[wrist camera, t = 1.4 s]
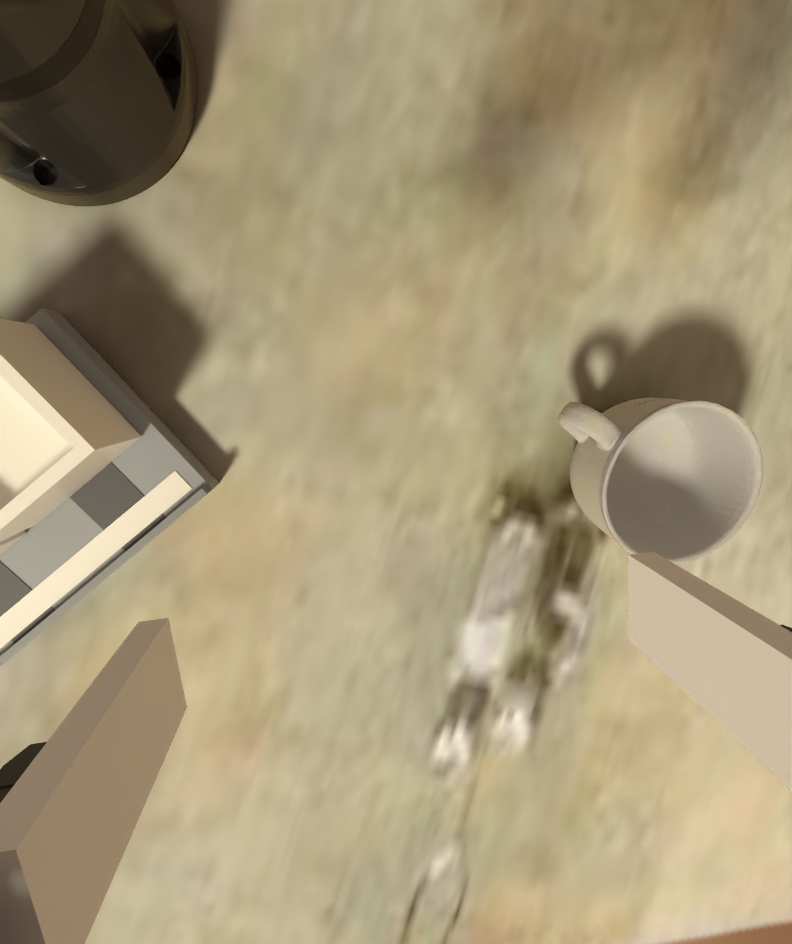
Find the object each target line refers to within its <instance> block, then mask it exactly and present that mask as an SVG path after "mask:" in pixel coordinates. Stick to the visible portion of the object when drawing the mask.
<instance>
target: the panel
mask: <svg viewBox="0 0 792 944" xmlns="http://www.w3.org/2000/svg"><path fill="white" fill-rule="evenodd" d="M24 323H28V324H34V325H36V326H37V328H38V329H39V330H40V331H41V332H42V333H43V334H44V335H45V336H46V337H47V338H48V339H49V340H50V341H51V342H52V343H53V344H54V345H55V346H56V347H57V348H58V349H59V350H60V352H61V353H62V354H63V355H64V356H65V357H66V358H67V359H68V360H69V361H70V362H71V363H72V364H73V365H74V366H75V367H76V368H77V369H78V370H79V371H80V372H81V373H82V374H83V376H84V377H85V378H86V379H87V380H88V381H89V382H90V383H91V384H92V385H93V386H94V387H95V388H96V389H97V390H98V391H99V392H100V393H101V394H102V395H103V396H104V397H105V398H106V400H107V401H108V402H109V403H110V404H111V405H112V406H113V407H114V408H115V409H116V410H117V411H118V412H119V413H120V414H121V415H122V416H123V417H124V418H125V419H126V420H127V421H128V423H129V424H130V425H131V426H132V427H133V428H134V429H135V430H136V431H137V432H138V433H139V434H140V435H141V436H142V437H141V438H139V439H138V440H137V441H136V442H135V443H133V444H132V445H131V446H130V447H129V448H128V449H126V450H125V451H124V452H123V453H122V454H120V455H119V456H118V457H117V458H116V459H114V460H113V461H112V462H111V463H110V464H108V465H107V466H106V467H105V468H104V469H103V470H101V471H100V472H99V473H98V474H97V475H95V476H94V477H93V478H92V479H91V480H89V481H88V482H87V483H86V484H85V485H84V486H82V487H81V488H80V489H79V490H78V491H76V492H75V493H74V494H73V495H72V496H70V497H69V498H68V499H67V500H66V501H64V502H63V503H62V504H61V505H60V506H59V507H57V508H56V509H55V510H54V511H53V512H51V513H50V514H49V515H48V516H47V517H45V518H44V519H43V520H42V521H41V522H40V523H38V524H36V525H34V526H32V527H30V528H28V529H26V530H24V531H25V532H26V534H25V535H24V536H23V537H22V538H21V539H19V540H18V541H17V542H16V543H15V544H13V545H12V546H11V547H10V548H9V549H7V550H6V551H5V552H4V553H3V554H1V555H0V666H1V665H2V664H4V663H5V662H6V661H7V660H8V659H10V658H11V657H12V656H13V655H14V654H16V653H17V652H18V651H19V650H20V649H22V648H23V647H24V646H25V645H26V644H28V643H29V642H30V641H31V640H32V639H34V638H35V637H36V636H37V635H38V634H40V633H41V632H42V631H43V630H44V629H46V628H47V627H48V626H49V625H50V624H52V623H53V622H54V621H55V620H56V619H58V618H59V617H60V616H61V615H62V614H64V613H65V612H66V611H67V610H68V609H70V608H71V607H72V606H73V605H74V604H76V603H77V602H78V601H79V600H80V599H82V598H83V597H84V596H85V595H86V594H88V593H89V592H90V591H91V590H92V589H94V588H95V587H96V586H97V585H98V584H100V583H101V582H102V581H103V580H104V579H106V578H107V577H108V576H109V575H110V574H112V573H113V572H114V571H115V570H116V569H118V568H119V567H120V566H121V565H122V564H124V563H125V562H126V561H127V560H128V559H130V558H131V557H132V556H133V555H134V554H136V553H137V552H138V551H139V550H140V549H142V548H143V547H144V546H145V545H146V544H148V543H149V542H150V541H151V540H152V539H154V538H155V537H156V536H157V535H158V534H160V533H161V532H162V531H163V530H164V529H166V528H167V527H168V526H169V525H170V524H172V523H173V522H174V521H175V520H176V519H178V518H179V517H180V516H181V515H182V514H184V513H185V512H186V511H187V510H188V509H190V508H191V507H192V506H193V505H194V504H196V503H197V502H198V501H199V500H200V499H202V498H203V497H204V496H205V495H206V494H208V493H209V492H210V491H211V490H212V489H213V488H215V487H216V486H217V485H218V484H219V482H218V481H217V480H216V479H215V477H214V476H213V475H212V474H211V473H210V472H209V471H208V470H207V469H206V468H205V467H204V466H203V465H202V464H201V463H200V461H199V460H198V459H197V458H196V457H195V456H194V455H193V454H192V453H191V452H190V451H189V450H188V449H187V448H186V447H185V445H184V444H183V443H182V442H181V441H180V440H179V439H178V438H177V437H176V436H175V435H174V434H173V433H172V432H171V431H170V430H169V428H168V427H167V426H166V425H165V424H164V423H163V422H162V421H161V420H160V419H159V418H158V417H157V416H156V415H155V414H154V412H153V411H152V410H151V409H150V408H149V407H148V406H147V405H146V404H145V403H144V402H143V401H142V400H141V399H140V398H139V397H138V395H137V394H136V393H135V392H134V391H133V390H132V389H131V388H130V387H129V386H128V385H127V384H126V383H125V382H124V381H123V379H122V378H121V377H120V376H119V375H118V374H117V373H116V372H115V371H114V370H113V369H112V368H111V367H110V366H109V365H108V363H107V362H106V361H105V360H104V359H103V358H102V357H101V356H100V355H99V354H98V353H97V352H96V351H95V350H94V349H93V348H92V346H91V345H90V344H89V343H88V342H87V341H86V340H85V339H84V338H83V337H82V336H81V335H80V334H79V333H78V332H77V330H76V329H75V328H74V327H73V326H72V325H71V324H70V323H69V322H68V321H67V320H66V319H65V318H64V317H63V316H62V314H61V313H60V312H57V311H53V310H49V309H45V308H41V309H40V310H38V311H37V312H36V313H35V314H34V315H33V316H31V317H30V318H29V319H28V320H27V321H26V322H24Z"/></svg>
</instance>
